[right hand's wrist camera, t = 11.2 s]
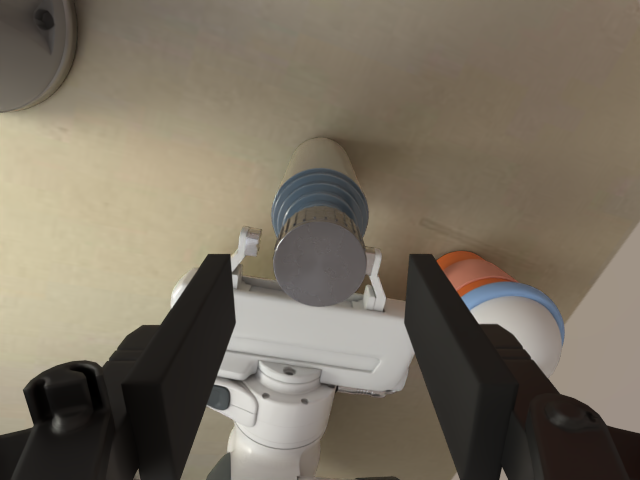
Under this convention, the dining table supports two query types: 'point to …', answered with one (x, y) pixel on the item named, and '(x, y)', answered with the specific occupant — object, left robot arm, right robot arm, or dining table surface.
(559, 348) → the cup with straw
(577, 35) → the dining table surface
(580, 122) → the dining table surface
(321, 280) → the cap
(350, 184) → the bottle
